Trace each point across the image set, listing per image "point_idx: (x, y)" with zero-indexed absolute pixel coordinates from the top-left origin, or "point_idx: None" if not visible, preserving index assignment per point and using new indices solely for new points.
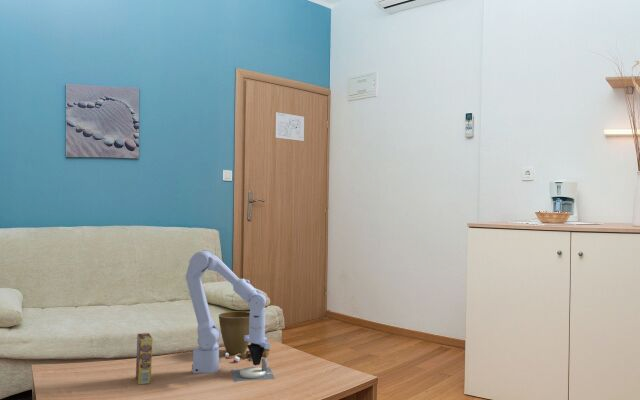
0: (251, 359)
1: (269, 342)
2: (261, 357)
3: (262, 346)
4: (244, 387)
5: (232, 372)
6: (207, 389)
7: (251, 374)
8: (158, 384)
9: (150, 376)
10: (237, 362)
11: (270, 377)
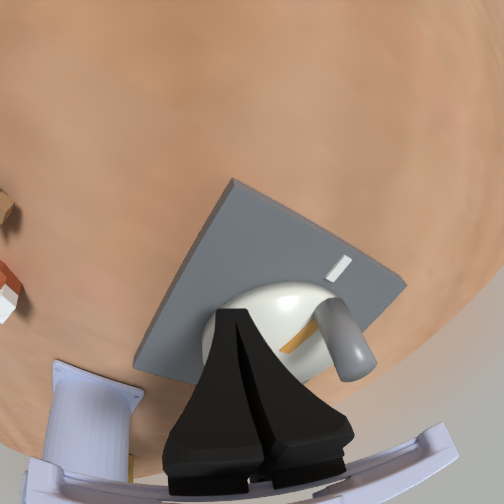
0: (4, 215)
1: (452, 461)
2: (270, 348)
3: (370, 461)
4: (333, 375)
5: (175, 378)
6: None
7: (318, 371)
8: (146, 453)
9: (132, 468)
10: (18, 292)
11: (382, 294)
